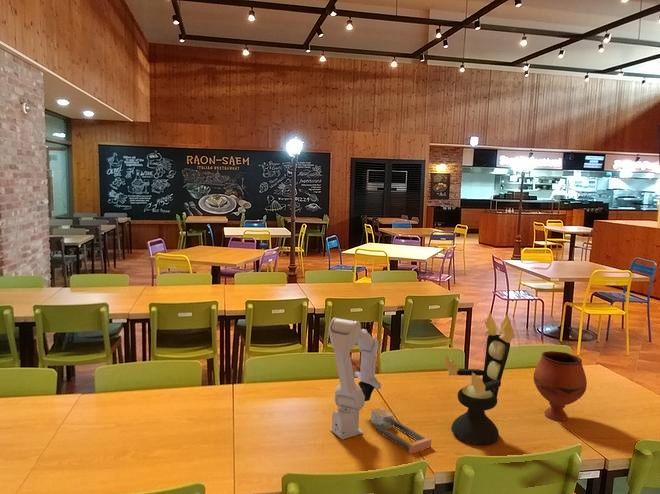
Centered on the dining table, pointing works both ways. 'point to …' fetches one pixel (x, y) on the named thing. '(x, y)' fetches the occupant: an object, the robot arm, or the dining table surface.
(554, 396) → the goblet
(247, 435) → the dining table surface
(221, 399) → the dining table surface
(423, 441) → the guide rails
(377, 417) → the lock block
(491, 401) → the spiked throne chair
